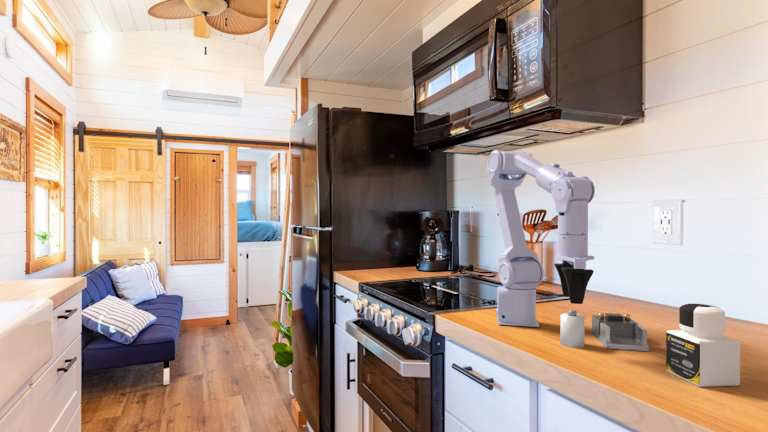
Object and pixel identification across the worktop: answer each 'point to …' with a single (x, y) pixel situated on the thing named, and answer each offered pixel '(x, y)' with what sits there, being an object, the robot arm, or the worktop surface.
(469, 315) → the worktop surface
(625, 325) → the grey tray
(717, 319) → the medicine bottle
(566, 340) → the white cylinder
